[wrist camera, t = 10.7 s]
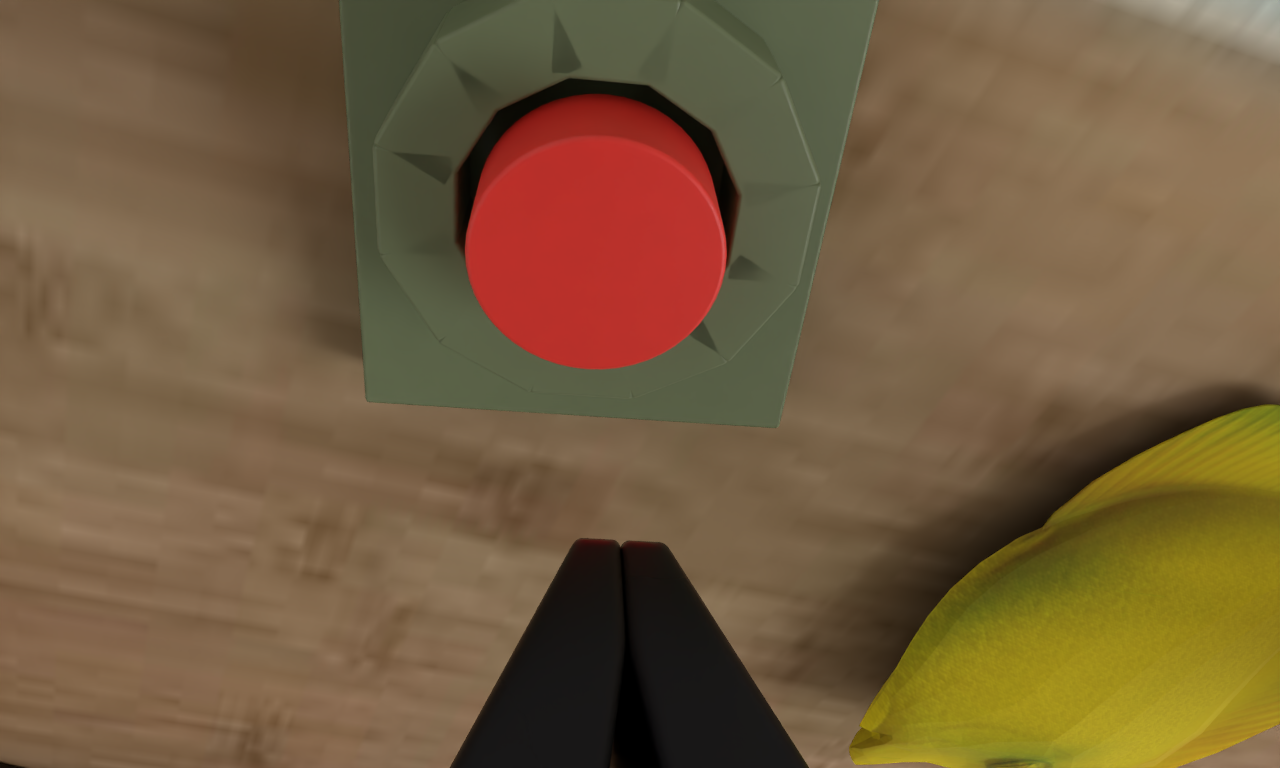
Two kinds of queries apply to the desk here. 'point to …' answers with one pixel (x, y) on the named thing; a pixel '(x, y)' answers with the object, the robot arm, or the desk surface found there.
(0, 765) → the bracket
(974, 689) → the fish
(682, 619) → the robot arm
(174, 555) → the desk surface
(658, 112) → the button
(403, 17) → the button block
